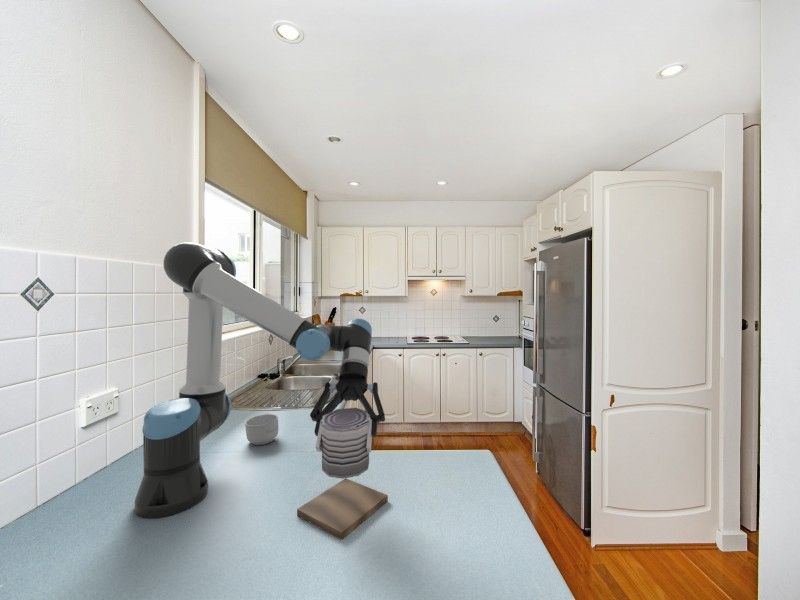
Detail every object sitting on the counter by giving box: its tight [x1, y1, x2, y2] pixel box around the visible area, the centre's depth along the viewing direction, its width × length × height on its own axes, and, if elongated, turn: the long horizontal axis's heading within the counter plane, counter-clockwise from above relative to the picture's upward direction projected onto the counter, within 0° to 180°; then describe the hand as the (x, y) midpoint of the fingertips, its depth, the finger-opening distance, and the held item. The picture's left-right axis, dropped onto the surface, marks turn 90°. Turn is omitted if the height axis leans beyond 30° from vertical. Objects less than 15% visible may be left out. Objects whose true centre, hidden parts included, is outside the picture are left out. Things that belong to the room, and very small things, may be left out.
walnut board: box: [296, 478, 389, 540], centre depth 80 cm, size 16×14×2 cm
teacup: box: [244, 412, 279, 446], centre depth 120 cm, size 14×11×8 cm
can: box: [321, 407, 370, 480], centre depth 80 cm, size 11×11×12 cm
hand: (343, 449), depth 77 cm, fingers closed on can, 11 cm apart
